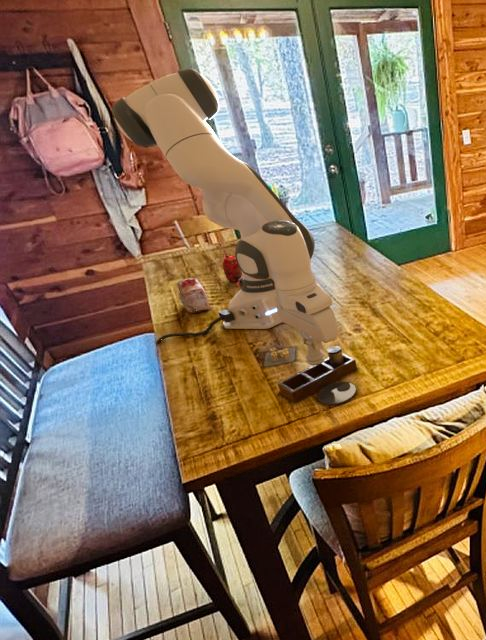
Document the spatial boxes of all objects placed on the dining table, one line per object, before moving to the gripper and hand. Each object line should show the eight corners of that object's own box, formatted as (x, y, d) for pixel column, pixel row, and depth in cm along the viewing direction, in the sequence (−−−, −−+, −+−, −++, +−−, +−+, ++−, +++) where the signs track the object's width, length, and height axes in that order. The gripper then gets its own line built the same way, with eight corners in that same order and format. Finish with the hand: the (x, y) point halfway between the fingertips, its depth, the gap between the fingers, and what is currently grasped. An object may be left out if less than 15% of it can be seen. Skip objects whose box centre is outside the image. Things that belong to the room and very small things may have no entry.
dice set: (290, 359, 134) (288, 353, 133) (270, 362, 133) (268, 356, 132) (290, 350, 138) (289, 344, 137) (271, 353, 137) (269, 348, 136)
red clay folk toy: (237, 283, 184) (223, 244, 176) (222, 282, 186) (208, 243, 178) (251, 275, 190) (238, 237, 182) (236, 274, 192) (224, 236, 184)
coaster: (314, 406, 115) (314, 405, 114) (322, 385, 122) (322, 383, 122) (353, 403, 115) (352, 401, 115) (358, 382, 122) (358, 380, 122)
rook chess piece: (308, 357, 123) (302, 328, 119) (326, 356, 123) (321, 327, 119) (304, 366, 119) (298, 336, 115) (323, 365, 119) (318, 335, 116)
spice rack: (295, 403, 116) (291, 392, 115) (280, 393, 120) (277, 383, 119) (357, 369, 128) (355, 359, 126) (342, 361, 131) (340, 351, 130)
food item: (214, 309, 165) (203, 282, 160) (188, 317, 161) (176, 289, 156) (205, 297, 174) (195, 271, 169) (180, 304, 170) (169, 277, 165)
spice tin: (331, 375, 126) (325, 353, 123) (333, 367, 129) (328, 346, 125) (345, 373, 126) (339, 352, 123) (347, 366, 129) (342, 345, 126)
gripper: (262, 288, 116) (279, 339, 123) (311, 310, 104) (326, 365, 111) (286, 279, 120) (301, 329, 127) (336, 299, 108) (349, 353, 115)
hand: (313, 346), depth 119 cm, fingers closed on rook chess piece, 3 cm apart
